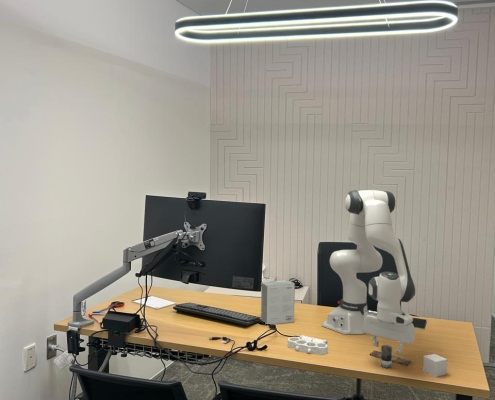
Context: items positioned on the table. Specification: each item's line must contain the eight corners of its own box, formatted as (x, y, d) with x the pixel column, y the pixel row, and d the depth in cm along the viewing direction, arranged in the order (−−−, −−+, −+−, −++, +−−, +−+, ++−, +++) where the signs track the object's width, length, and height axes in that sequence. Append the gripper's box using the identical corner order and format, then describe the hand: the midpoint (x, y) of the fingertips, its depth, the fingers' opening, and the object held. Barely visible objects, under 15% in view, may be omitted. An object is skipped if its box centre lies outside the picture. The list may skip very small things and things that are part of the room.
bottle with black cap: (378, 366, 187) (379, 347, 186) (383, 363, 190) (384, 344, 189) (388, 369, 184) (389, 349, 184) (392, 366, 187) (393, 346, 187)
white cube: (422, 371, 184) (423, 356, 183) (433, 368, 187) (434, 353, 186) (435, 377, 178) (436, 361, 178) (446, 374, 181) (447, 359, 181)
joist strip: (369, 355, 198) (369, 353, 198) (375, 351, 202) (375, 349, 202) (406, 366, 188) (406, 364, 188) (412, 361, 192) (412, 360, 192)
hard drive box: (288, 318, 245) (289, 280, 244) (294, 322, 238) (295, 283, 237) (260, 320, 240) (261, 281, 239) (265, 325, 233) (266, 285, 232)
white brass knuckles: (334, 347, 207) (322, 358, 194) (296, 339, 216) (282, 349, 203) (334, 340, 207) (322, 350, 194) (296, 332, 216) (282, 342, 203)
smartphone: (407, 325, 235) (410, 317, 249) (407, 328, 235) (410, 319, 249) (424, 328, 232) (426, 319, 246) (424, 331, 232) (426, 321, 246)
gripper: (360, 310, 189) (359, 344, 190) (411, 321, 176) (409, 357, 177) (367, 307, 194) (366, 340, 195) (417, 317, 181) (415, 353, 182)
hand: (387, 349), depth 186 cm, fingers open, 8 cm apart
